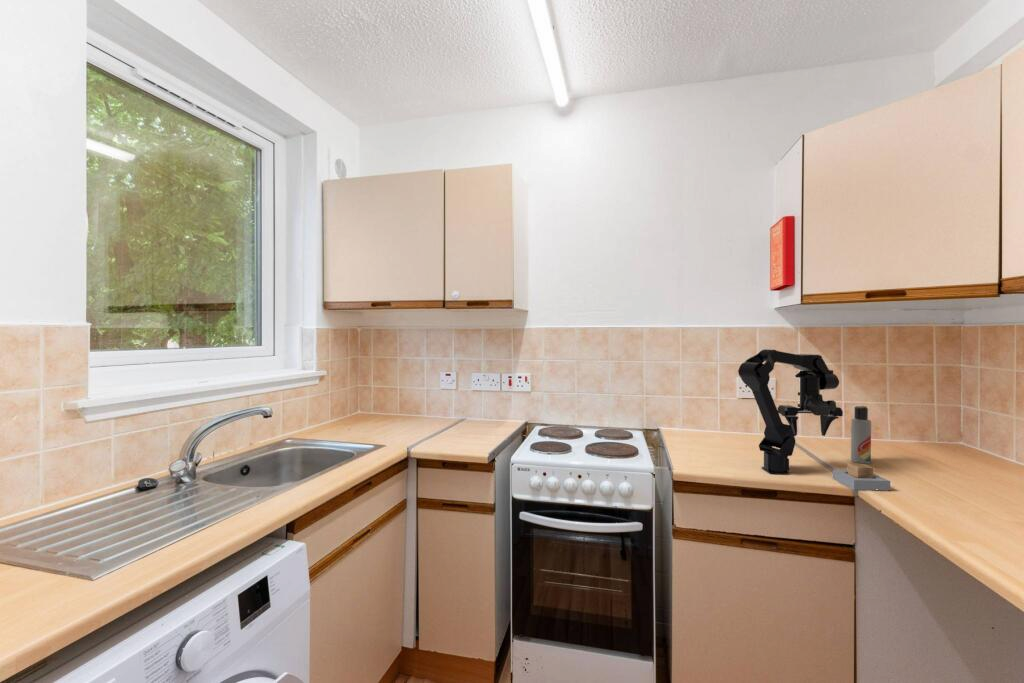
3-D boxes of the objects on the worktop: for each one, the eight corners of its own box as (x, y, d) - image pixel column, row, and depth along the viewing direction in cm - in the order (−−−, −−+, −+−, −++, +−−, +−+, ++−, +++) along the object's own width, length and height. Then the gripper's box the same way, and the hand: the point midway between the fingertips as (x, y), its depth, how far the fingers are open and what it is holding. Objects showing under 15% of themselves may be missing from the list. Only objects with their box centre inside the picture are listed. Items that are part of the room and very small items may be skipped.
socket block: (854, 490, 132) (854, 480, 132) (832, 479, 142) (832, 469, 142) (890, 491, 131) (890, 481, 131) (866, 480, 141) (866, 470, 141)
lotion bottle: (874, 464, 157) (874, 407, 157) (856, 463, 158) (856, 407, 158) (865, 459, 163) (865, 405, 163) (847, 459, 164) (848, 404, 164)
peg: (857, 487, 134) (857, 467, 134) (847, 482, 139) (847, 463, 139) (873, 487, 134) (873, 468, 134) (862, 482, 138) (862, 463, 138)
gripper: (793, 393, 147) (793, 440, 147) (854, 393, 145) (853, 441, 146) (776, 389, 158) (776, 433, 158) (832, 389, 156) (832, 433, 157)
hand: (809, 435), depth 154 cm, fingers open, 9 cm apart
